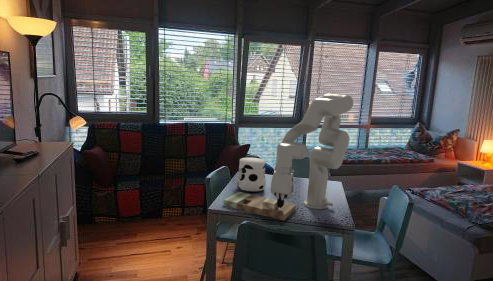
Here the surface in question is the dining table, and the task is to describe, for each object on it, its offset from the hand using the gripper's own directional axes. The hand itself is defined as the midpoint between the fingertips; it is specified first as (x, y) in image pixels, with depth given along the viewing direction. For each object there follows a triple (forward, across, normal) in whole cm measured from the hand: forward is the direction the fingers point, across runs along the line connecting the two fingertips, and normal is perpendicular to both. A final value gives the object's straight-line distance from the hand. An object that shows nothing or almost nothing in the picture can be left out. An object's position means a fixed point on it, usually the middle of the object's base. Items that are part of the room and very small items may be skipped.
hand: (280, 206), depth 160 cm
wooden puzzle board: (+5, +12, -4) cm, 14 cm away
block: (+2, +5, 0) cm, 5 cm away
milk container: (+5, +29, -28) cm, 41 cm away
